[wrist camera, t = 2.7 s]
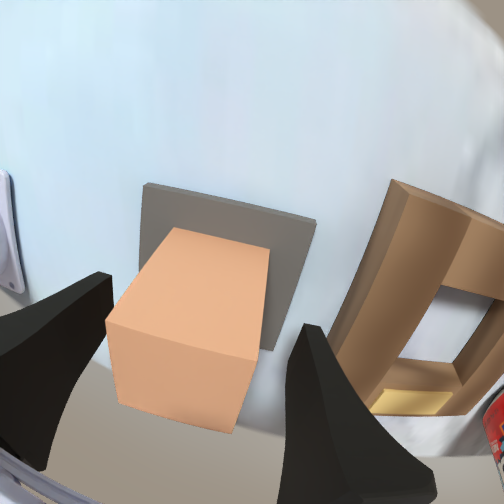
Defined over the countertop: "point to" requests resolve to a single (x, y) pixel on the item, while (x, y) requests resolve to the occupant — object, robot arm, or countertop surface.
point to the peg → (190, 330)
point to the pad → (233, 239)
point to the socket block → (421, 306)
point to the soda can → (496, 431)
